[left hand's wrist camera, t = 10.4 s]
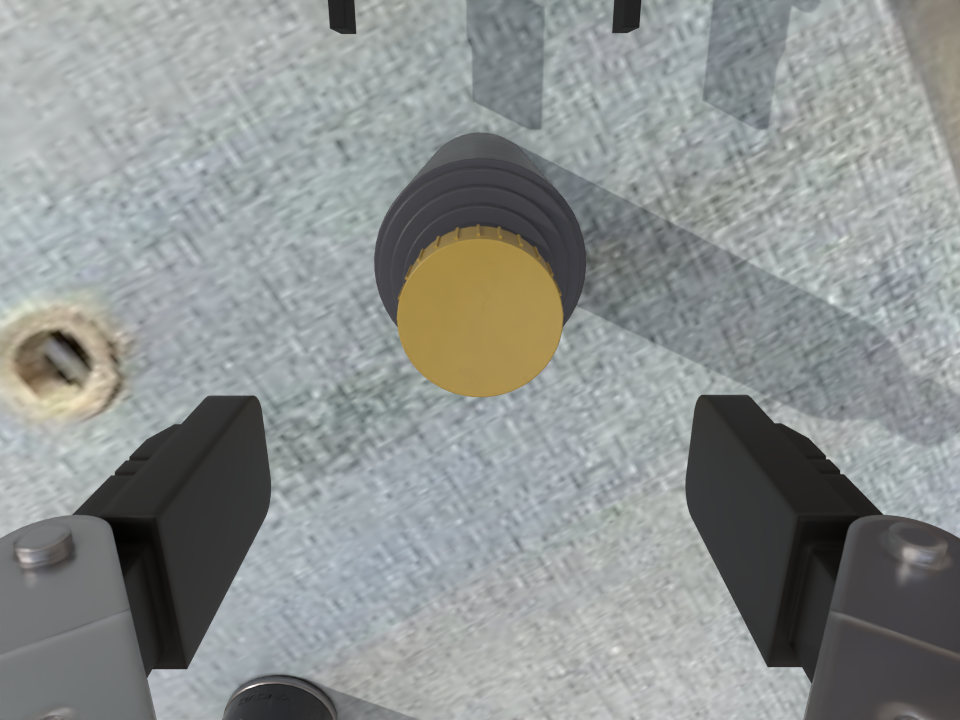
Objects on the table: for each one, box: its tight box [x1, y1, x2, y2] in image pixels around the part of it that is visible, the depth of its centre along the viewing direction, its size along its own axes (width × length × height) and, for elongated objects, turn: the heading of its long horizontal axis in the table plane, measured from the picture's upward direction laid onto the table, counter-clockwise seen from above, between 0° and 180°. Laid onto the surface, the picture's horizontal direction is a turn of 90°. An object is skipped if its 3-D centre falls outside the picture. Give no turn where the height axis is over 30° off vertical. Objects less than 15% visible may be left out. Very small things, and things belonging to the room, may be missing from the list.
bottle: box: [374, 133, 586, 327], centre depth 30 cm, size 7×7×25 cm
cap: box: [397, 224, 564, 397], centre depth 19 cm, size 4×4×2 cm
